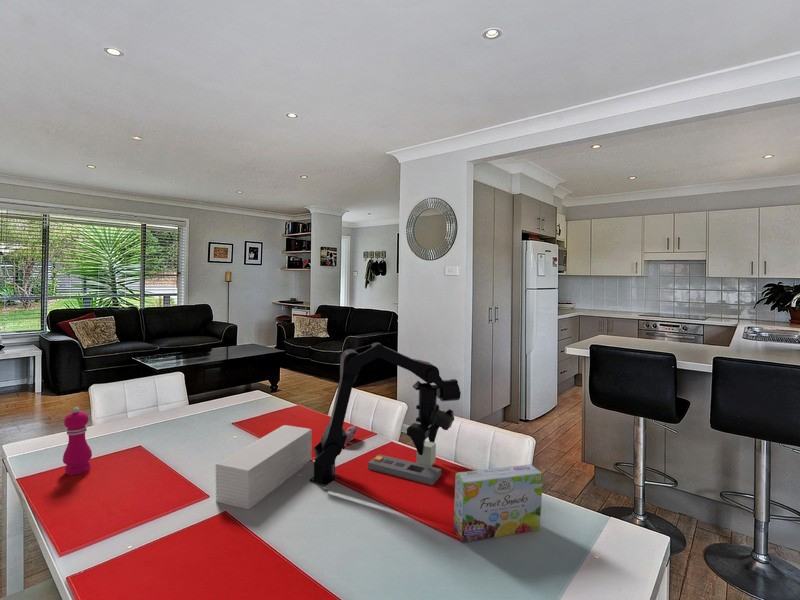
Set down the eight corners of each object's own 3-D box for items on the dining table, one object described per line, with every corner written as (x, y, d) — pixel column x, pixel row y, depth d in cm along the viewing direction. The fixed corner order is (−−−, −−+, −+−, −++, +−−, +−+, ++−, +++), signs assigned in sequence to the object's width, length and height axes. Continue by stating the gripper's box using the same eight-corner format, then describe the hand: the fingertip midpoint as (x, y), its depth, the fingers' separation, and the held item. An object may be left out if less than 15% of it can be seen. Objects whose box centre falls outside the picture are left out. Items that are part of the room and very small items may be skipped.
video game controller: (345, 451, 154) (354, 435, 153) (334, 445, 154) (343, 428, 153) (353, 441, 163) (361, 425, 162) (343, 435, 164) (351, 419, 163)
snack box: (462, 545, 100) (464, 482, 99) (452, 531, 105) (454, 471, 104) (541, 531, 106) (543, 471, 105) (528, 518, 111) (530, 462, 110)
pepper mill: (58, 472, 131) (56, 408, 130) (84, 463, 138) (82, 402, 136) (70, 478, 128) (68, 412, 127) (97, 468, 134) (95, 406, 133)
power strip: (432, 488, 125) (432, 476, 125) (367, 471, 135) (367, 460, 135) (440, 478, 132) (441, 467, 131) (378, 463, 141) (378, 452, 141)
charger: (430, 472, 136) (431, 447, 135) (416, 468, 138) (416, 444, 137) (435, 467, 139) (435, 443, 139) (421, 463, 142) (421, 440, 141)
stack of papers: (284, 455, 147) (284, 424, 146) (311, 460, 143) (311, 429, 142) (215, 502, 116) (215, 463, 116) (248, 510, 113) (248, 470, 112)
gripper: (440, 414, 125) (439, 466, 126) (460, 398, 142) (459, 444, 143) (406, 408, 130) (405, 458, 131) (429, 393, 147) (428, 438, 148)
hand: (426, 449), depth 138 cm, fingers open, 9 cm apart
